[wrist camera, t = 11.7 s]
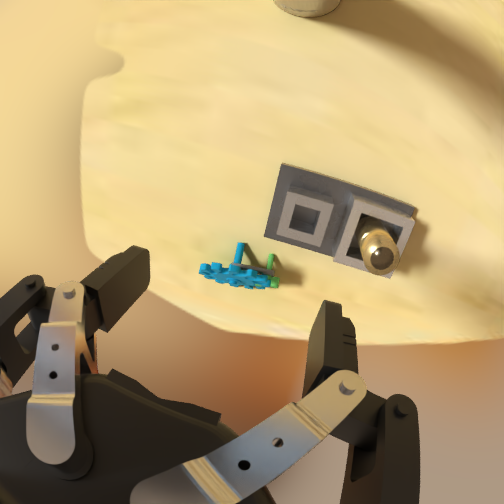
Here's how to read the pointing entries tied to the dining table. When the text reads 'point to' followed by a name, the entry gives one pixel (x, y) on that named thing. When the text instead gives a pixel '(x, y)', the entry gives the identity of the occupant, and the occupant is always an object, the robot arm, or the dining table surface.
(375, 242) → the cylinder
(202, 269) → the gear
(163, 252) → the dining table surface
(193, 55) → the dining table surface
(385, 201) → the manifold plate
